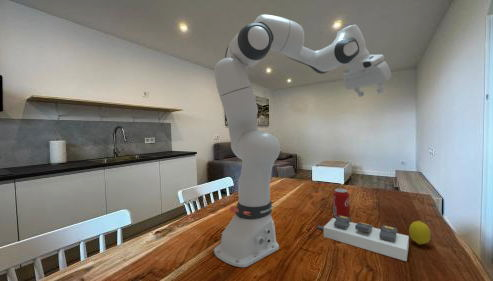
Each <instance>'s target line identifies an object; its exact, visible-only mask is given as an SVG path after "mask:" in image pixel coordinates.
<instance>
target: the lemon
mask: <svg viewBox="0 0 493 281" xmlns="http://www.w3.org/2000/svg"><path fill="white" fill-rule="evenodd" d="M408 233H409V238H411V240H412V241H414V242H415V243H416V244H418V245H419V246H421V245H424V244H425V245H426V244H427V243H429V242H430V241H431V236H432V235H431V230H430V228H429V226H428V225H427V224H426V223H424V222H423V221H421V220H416V221H412V223H411V224H410V225H409V228H408Z"/></svg>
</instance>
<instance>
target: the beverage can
mask: <svg viewBox="0 0 493 281" xmlns="http://www.w3.org/2000/svg"><path fill="white" fill-rule="evenodd" d="M332 196H333V198H332V200H333V201H332V202H333V205H332V206H333V211H332V212H333V216H334V218H335V219H336V218H337V217H338V216H339V215H341V216H346V217H350V193H349V192H348V190H347V189H345V188H335V189H334V191H333V192H332Z"/></svg>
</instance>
